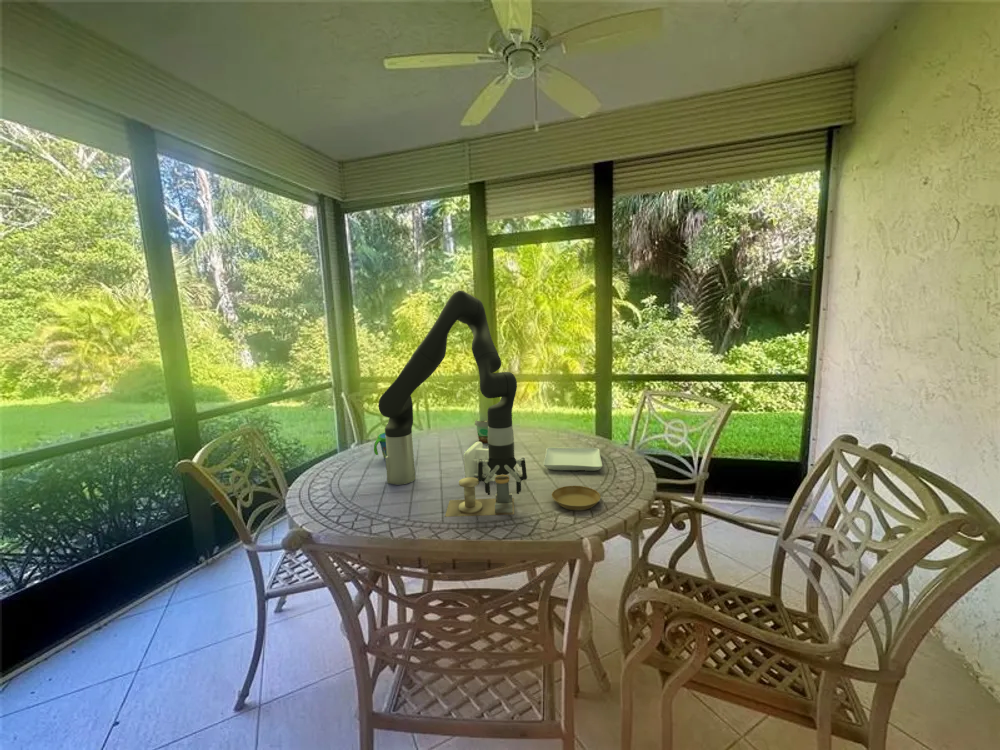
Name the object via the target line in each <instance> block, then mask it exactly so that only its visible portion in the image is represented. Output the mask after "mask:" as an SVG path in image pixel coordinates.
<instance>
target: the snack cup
mask: <svg viewBox="0 0 1000 750" xmlns="http://www.w3.org/2000/svg"><path fill="white" fill-rule="evenodd" d="M378 444H380V449H381V453H382V457H383V459H384V460H385V459H386V457H387V448H386V437H385V432H382V433H380V434H378V435H377V439H376V440H375V442H374V445H373V452H374V454H375V456H378V455H379V451H378Z"/></svg>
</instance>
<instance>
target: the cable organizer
mask: <svg viewBox="0 0 1000 750" xmlns="http://www.w3.org/2000/svg"><path fill="white" fill-rule="evenodd" d="M483 444H484V443H482V442H479V441H476V442H474V443H473V444H472V445H471V446H470V447H469V448H468V449H467V450H465V452H464V454H463V456H462V457H463V459H464V473H465V475H464V478H468V477H474V478H477V477H478V463H479V460H480V459H482V460H483V461H488V459H489V451H488V448H484V447H483V446H484V445H483ZM489 471H490V467H489V466H488V465H486V466H485V468H483V475H485V476H486V475H487V474H488V472H489ZM496 476H498V475H497V474H494V476H493V477H492V478H491V479H490V482H495V477H496Z"/></svg>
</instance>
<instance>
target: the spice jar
mask: <svg viewBox="0 0 1000 750" xmlns="http://www.w3.org/2000/svg"><path fill="white" fill-rule="evenodd" d="M494 482H495V484H496V486H495V487H496V494H497V503H509V493H510V489H509V485H510V484H509V482H510V476H509V475H503V474H502V475H498V476H496V477H495V481H494Z"/></svg>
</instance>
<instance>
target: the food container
mask: <svg viewBox="0 0 1000 750" xmlns="http://www.w3.org/2000/svg"><path fill="white" fill-rule="evenodd" d="M474 425H475V426H476V431H477V432H476V433H477V437H478V442H482V444H488V419H487V420H486V419H485V420H477V419H475V420H474Z"/></svg>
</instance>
